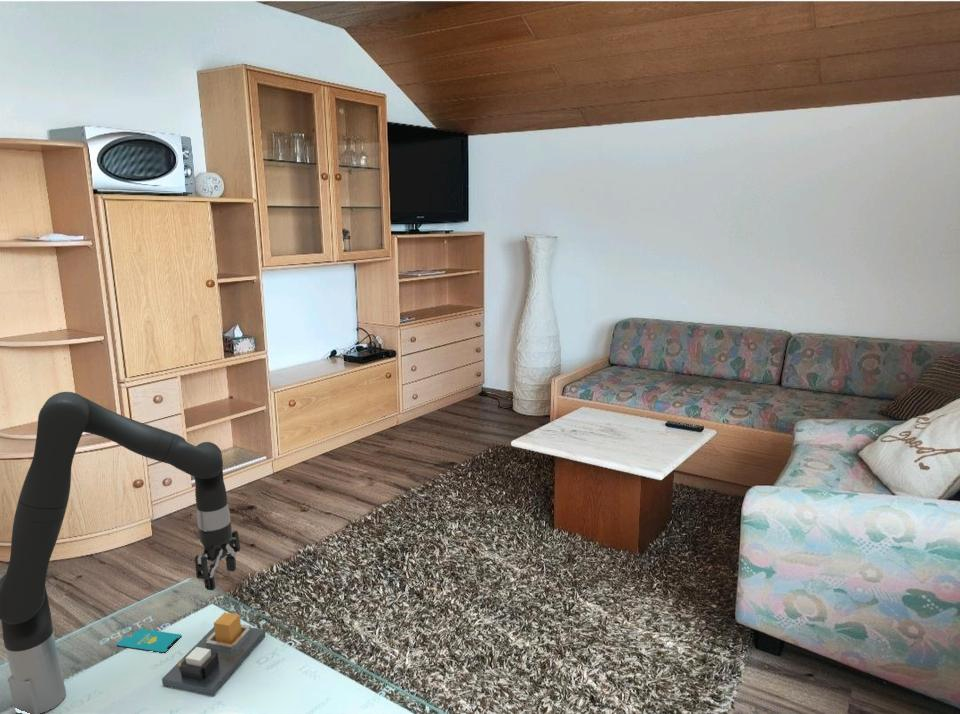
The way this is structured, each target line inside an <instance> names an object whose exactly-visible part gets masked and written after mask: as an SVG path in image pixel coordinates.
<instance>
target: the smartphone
mask: <svg viewBox="0 0 960 714" xmlns="http://www.w3.org/2000/svg"><path fill="white" fill-rule="evenodd" d="M125 636H126V637H127V634H126V635H125ZM125 636H123V637H122V638H121V639H120V640H119V641H118V642H117V643H116V647H118V648H124V649H125V648H126V649H130V650H131V649H132V650H137V651H145V652H149V651H153V652H152V653H156V652H159V653H158V654H162V653H164V654H166V652H167V651H168V650H169V649H170V648H171V647H172V646H173V645H174V644H175V643H176V642H177V641H178V640H179V639H180V638H181V639H182V637H183V636H182V634H180V633H172V632H166V631H159V630H153V629H145V628H139V631H136V632H134V634H133V635H132V637H127V638H128V639H127V638H126V637H125ZM181 639H180V640H181ZM180 640H179V641H180ZM179 641H178V642H179ZM178 642H177V643H178ZM177 643H176V644H177ZM174 646H175V645H174ZM174 646H173V647H174ZM173 647H172V648H173ZM172 648H171V649H172ZM171 649H170V650H171ZM170 650H169V651H170ZM169 651H168V652H169ZM168 652H167V653H168Z"/></svg>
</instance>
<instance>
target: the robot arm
mask: <svg viewBox="0 0 960 714" xmlns="http://www.w3.org/2000/svg"><path fill="white" fill-rule="evenodd" d="M83 433H85V434H86V433H87V434H91V435H96V436H98V437H101V438H104V439H107V440H109V441H112V442H113V443H116V444H117V445H119V446H120V447H121V446H122V447H124V448H125V449H127V450H129V451H131V452H133V453H135V454H137V455H139V456H142V457H144V458H147V459H151V460H154V461H158V462H159V463H160V462H161V463H163V464H168V465H170V466H172V467H174V468H176V469H177V470H179V471H181V472H183V473H185V474H188V475H190V476H192V477H193V478H194V483H195V488H194V489H195V491H194V493H195V495H194V496H195V505H196V521H197V527H198V535H199V541H200V544H202V546H203V553H201V555H197V554H196V555H195V557H194V559H195V560H194V562H195V564H194V565H195V574H196V579H200V580H203V581H204V588H205V590H207V591H212V592H213V591H214V590H216V582H215V576H214V574H215V570H216V569H217V568H218V566H219V562H220V561H221V560H222V559H223V558H225V563H226V570H227V571H228V572H235V571H236V570H237V562H236V557H237V553H238V552H240V551H241V544H240V538H239V531H238V530H233V528H232V522H231V513H230V512H231V511H230V507H229V504H228V497H227V495H228V494H227V488H226V484H225V481H224V472H223V470H224V467H223V465H224V460H223V454H222V451H221V449H220V447H219V446H218V445H217V444H216V443H213V442H211V441H204V442H200V443H198V444H197V445H194V444H191V443H189V442H188V441H187V440H186V439H185V438H184V437H183V436H181V435H179V434H177V433H173V432H170V431H167V430H165V429H162V428H158V427H156V426H152V425H149V424H148V423H147V424H146V423H143V422H140V421H138V420H135V419H133V418H129V417H127V416H124V415H121V414H119V413H117V412H115V411H113V410H110V409H109V408H106V407H104V406H102V405H99V404H98V403H96V402H94V401H92V400H90V399H89V398H87V397H84V396H83V395H80V394H79V393H76V392H73V391H60V392H57V393H55V394H52V395H51V396H50V397H49V398H48V399H47V400H46V401H45V402H44V403H43V405H42V407H41V408H40V410H39V413H38V417H37V428H36V438H35V445H34V452H33V457H32V459H31V460H32V461H31V463H30V466H29V469H28V470H27V473H26V476H25V478H24V480H23V484H22V487H21V490H20V492H19V497H18V499H17V500H18V501H17V504H16V509H15V513H14V518H13V525H12V531H11V533H12V534H11V541H10V555H9V563H8V567H7V570H6V573H5V574H4V575H3V576H2V577H1V578H0V621H1V629H2V639H3V643H4V647H5V648H4V649H5V652H6V656H7V660H8V666H9V669H10V676H9V677H7V682H8V686H9V690H10V691H9V692H10V694H11V699H12V704H13V707H14V708H17V709H19V710H21V711H25V712H27V713H30V714H40V713H43V712H45V711H47V712H49V711H51V710H53V709H55V708H56V707H58V706H59V705H60V704H61V703H62V702H63V700H64V699H65V697H66V694H67V690H66V686H65V685H66V684H65V681H64V675H63V671H62V667H61V662H60V657H59V652H58V647H57V644H56V643H57V642H56V637H55V632H54V627H53V622H52V614H51V613H52V612H51V608H50V601H49V597H48V592H47V587H46V581H47V575H48V569H49V564H50V560H51V559H52V558H51V557H52V554H53V553H54V552H53V551H54V548H55V547H56V543H57V540H58V538H59V534H60V533H61V529H62V525H63V522H64V519H65V515H66V512H67V508H68V503H69V499H70V493H71V481H72V466H73V461H74V457H75V454H76V452H77V448H78V447H79V446H78V445H79V443H80V440H81V438H82V436H83ZM209 561H210V562H213V563H210V562H209ZM209 568H210V570H209ZM50 709H51V710H50ZM48 710H49V711H48ZM45 713H46V712H45ZM43 714H44V713H43Z"/></svg>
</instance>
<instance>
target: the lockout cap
mask: <svg viewBox="0 0 960 714" xmlns="http://www.w3.org/2000/svg"><path fill="white" fill-rule="evenodd" d="M241 624H242V623H241V615H240V614H236V613H231V612H226V611H225V612H223V613H222V614H221V615H220V616H219V617H218V618H217V619H216V620H215V621H214V622H213V627H214V629H215V636H216V641H217V642H222V643H228V644H233V642H234V641H235V640H236V639H237V638H238V637H239V636H240V635H241V634H242V631H241Z"/></svg>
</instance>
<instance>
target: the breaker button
mask: <svg viewBox="0 0 960 714" xmlns="http://www.w3.org/2000/svg"><path fill="white" fill-rule="evenodd" d="M210 657H211V650H210V649H205V648H200V647H196V648H195V649H194V650H193V651H192V652H191V653H190V654H189V655H188V656H187V657H186V664H188V665H193V666H198V667H201V666H202V665H203V664H204V663H205V662H206V661H207V660H208V659H209V658H210Z"/></svg>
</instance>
